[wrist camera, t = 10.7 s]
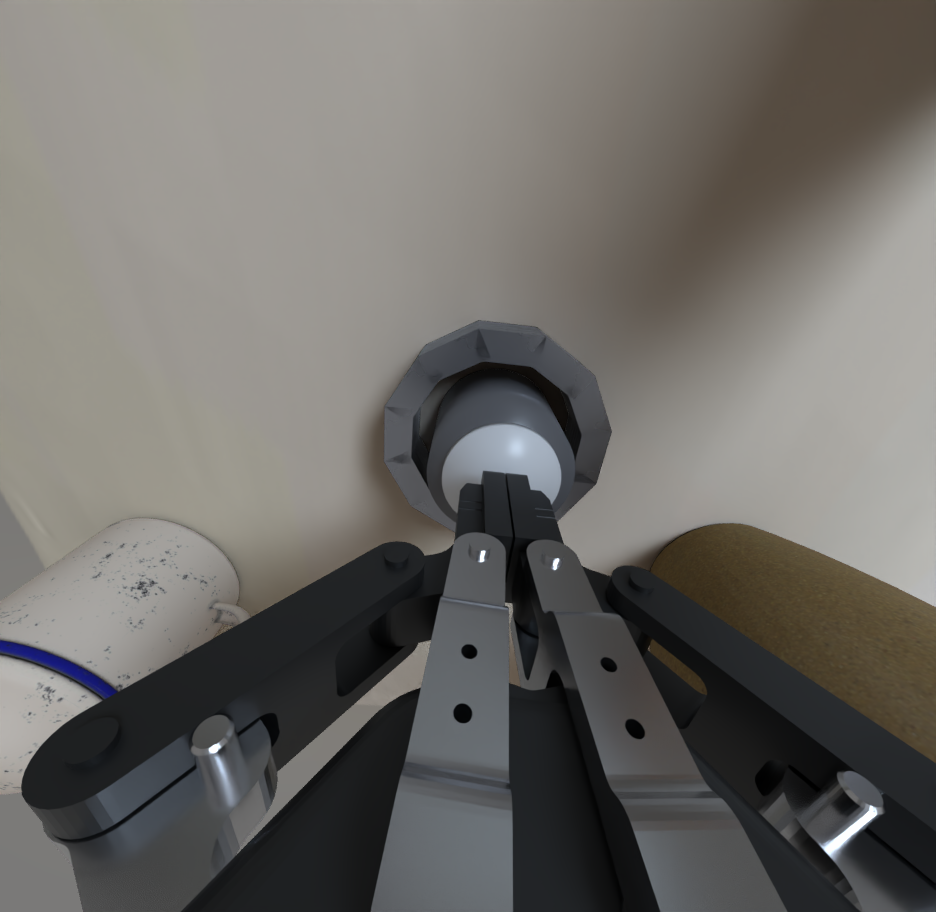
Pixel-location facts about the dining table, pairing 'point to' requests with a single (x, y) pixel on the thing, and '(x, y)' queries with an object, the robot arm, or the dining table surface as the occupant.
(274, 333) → the dining table surface
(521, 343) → the faceted grey ring
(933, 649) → the plant pot
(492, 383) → the cap
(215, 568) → the teacup with lid
